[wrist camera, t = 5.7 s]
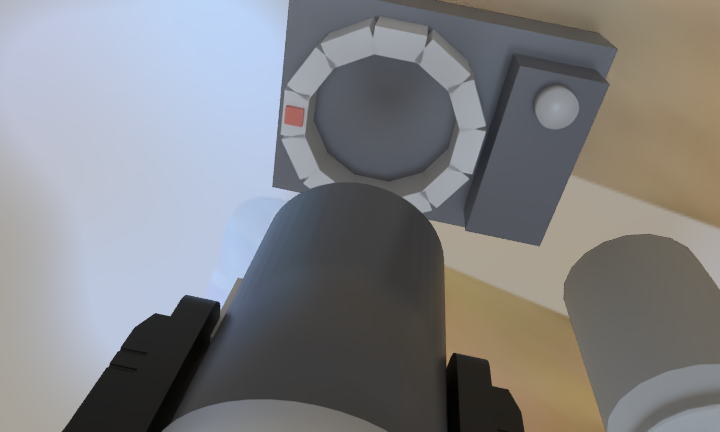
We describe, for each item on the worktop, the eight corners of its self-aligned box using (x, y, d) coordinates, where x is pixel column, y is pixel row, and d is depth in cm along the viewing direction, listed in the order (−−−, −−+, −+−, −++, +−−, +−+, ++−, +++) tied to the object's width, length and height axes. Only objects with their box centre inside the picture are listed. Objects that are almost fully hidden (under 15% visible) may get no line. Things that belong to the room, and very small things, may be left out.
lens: (470, 202, 13) (532, 747, 5) (422, 346, 16) (408, 856, 8) (267, 159, 13) (-30, 622, 5) (254, 310, 16) (51, 774, 8)
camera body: (599, 33, 25) (639, 67, 20) (527, 212, 30) (545, 274, 25) (305, -26, 25) (273, -7, 20) (286, 162, 30) (257, 214, 25)
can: (673, 330, 33) (780, 525, 23) (549, 320, 34) (599, 504, 23) (715, 229, 29) (866, 409, 19) (574, 221, 30) (646, 389, 20)
